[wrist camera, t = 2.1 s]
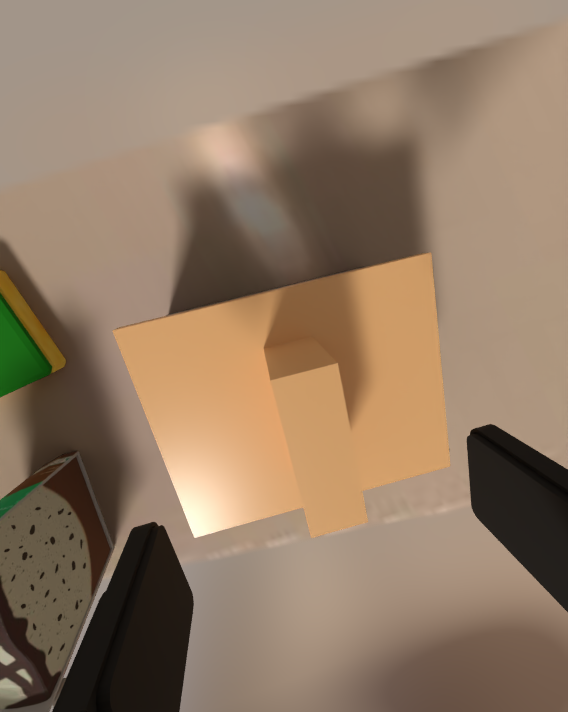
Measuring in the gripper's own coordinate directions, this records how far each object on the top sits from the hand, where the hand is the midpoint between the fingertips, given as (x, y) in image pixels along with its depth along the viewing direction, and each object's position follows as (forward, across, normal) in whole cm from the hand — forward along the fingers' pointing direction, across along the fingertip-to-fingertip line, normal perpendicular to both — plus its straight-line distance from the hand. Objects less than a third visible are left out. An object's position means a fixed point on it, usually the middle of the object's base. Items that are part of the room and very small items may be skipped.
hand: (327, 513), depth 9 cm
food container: (+16, +19, +7) cm, 26 cm away
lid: (+9, -1, 0) cm, 9 cm away
